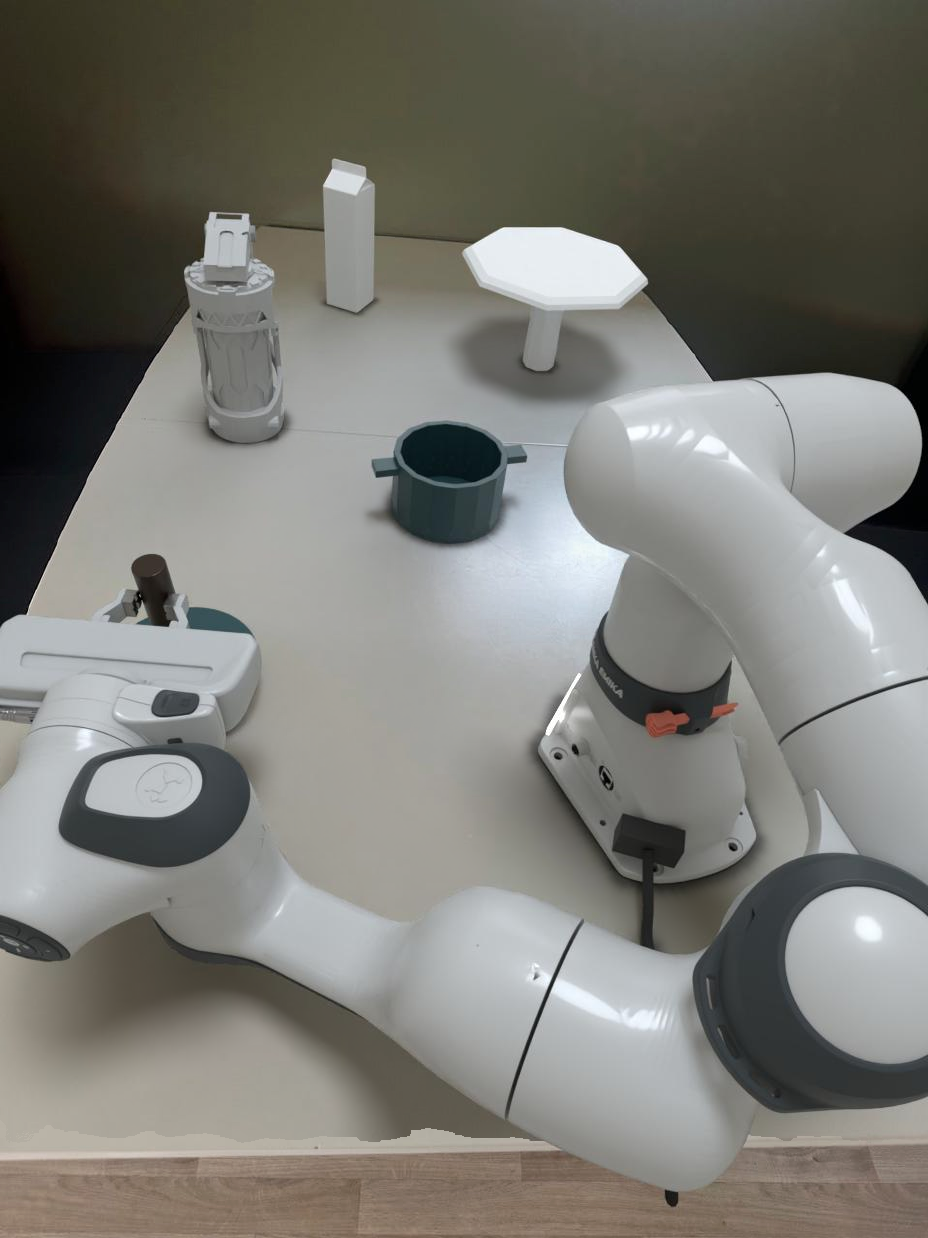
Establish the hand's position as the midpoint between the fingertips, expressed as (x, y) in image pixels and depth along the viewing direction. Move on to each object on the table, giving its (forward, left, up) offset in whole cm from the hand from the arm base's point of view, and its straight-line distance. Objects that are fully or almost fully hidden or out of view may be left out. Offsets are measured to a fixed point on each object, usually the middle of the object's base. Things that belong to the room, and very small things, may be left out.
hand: (156, 596), depth 69 cm
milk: (+80, -33, -14) cm, 88 cm away
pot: (+23, -34, -13) cm, 43 cm away
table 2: (+56, -59, -14) cm, 82 cm away
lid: (+1, -1, -10) cm, 10 cm away
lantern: (+47, -12, -14) cm, 50 cm away
